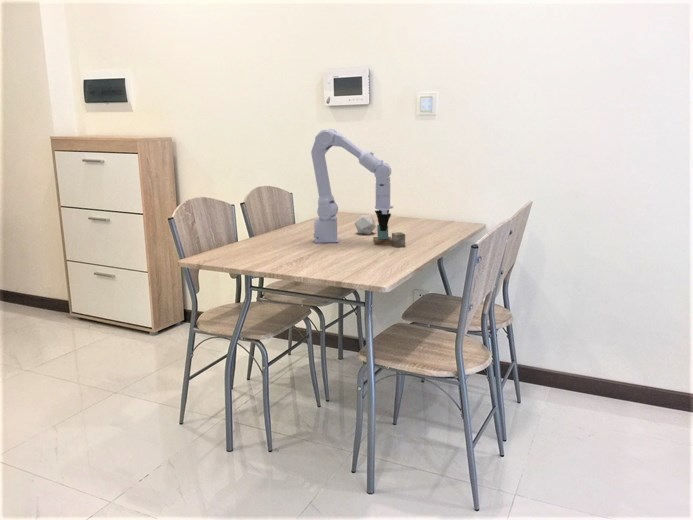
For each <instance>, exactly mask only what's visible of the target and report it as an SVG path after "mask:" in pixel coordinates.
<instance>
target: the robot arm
mask: <svg viewBox="0 0 693 520" xmlns="http://www.w3.org/2000/svg"><path fill="white" fill-rule="evenodd" d="M313 142H314V143H313V146H312V148H311V152H310V154H311V159H312V164H313V170H314V175H315V182H316V187H317V193H318V200H317V204H318V207H317V212H316V213H317V216H318V217H319V218H318V219H314V220H313V221H314V222H313V223H314V225H313V226H314V227H313V230H314V233H313V238H314V243H316V244H317V243H339V237H338V217H337V213H338V211H339V206H338V204H337V203H336V201H335V197H334V196H333V194H332V189H331V182H330V178H329V172H328V166H327V165H328V164H327V161H326V154H327V152H328V151H329V150H330V149H331V148H332V147H341V148H343V149H344V150H345V151H347V152H348V153H350V154H351V155H353V156H354V157H356V158H357V159H358V163H359V164H360V165H361V166H362V167H364V168H365V169H366V170H367V171H369V172H370V173H372V174H374V177H375V206H374V208H375V210H374V212H375V214H376V217H377V223H378V224H377V225H380V230H381V231H386V230H387V225H389V221H390V217H391V216H392V213H390V210H391V209H394V206H393V205H391V177H390V176H391V175H392V168H391V166H390V165H389V163H387V162H386V163H385V162H384V160H383V159H380V158H378V157H377V156H375V155H374V154H375V153H374V152H373V151H368V150H367V151H363V150H362V149H361V148H359V146H357V145H356V144H355V143H353V142H352V141H351V140H350V139H348V138H347V137H346V136H344V135H343V134H342V133H340V132H337V131H336V130H335V129H332V128H329V129H322V130H320V132H318V133H317V135H315V138H314V141H313Z"/></svg>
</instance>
